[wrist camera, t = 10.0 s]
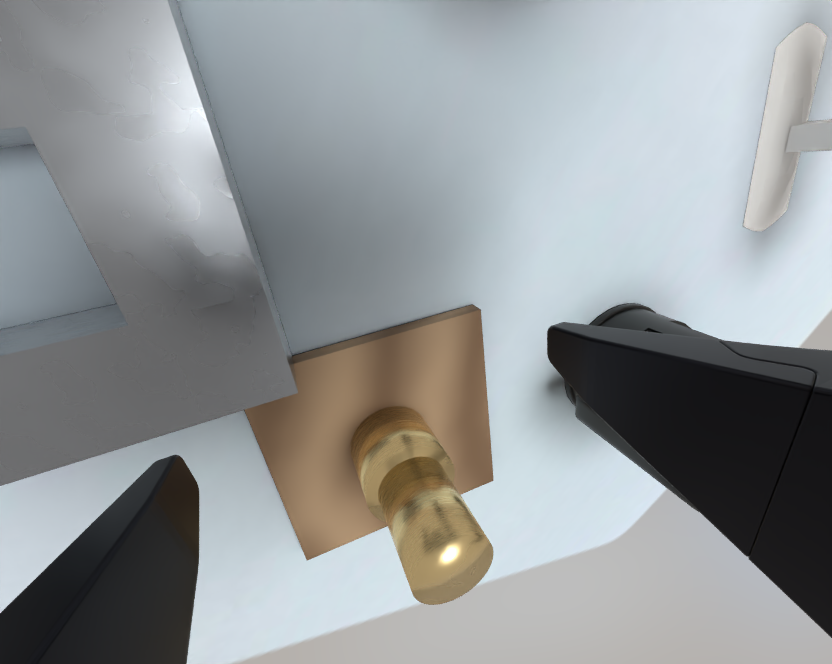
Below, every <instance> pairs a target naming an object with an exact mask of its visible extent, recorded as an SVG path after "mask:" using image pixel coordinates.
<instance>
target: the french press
mask: <svg viewBox="0 0 832 664" xmlns="http://www.w3.org/2000/svg"><path fill="white" fill-rule="evenodd" d="M590 325H593V326H602V327H610V328H619V329H628V330H636V331H645V332H646V331H648V332H654V333H662V334H671V335H680V336H688V337H697V338H706V339H714V340H718V341H720V340H721V339H718V338H715V337H712V336H710V335H707V334H704V333H701V332H698V331H696V330H693V329H691V328H690V327H689V326H687V325H686V324H685V323H682V322H679V321H676V320H674V319H671V318H668V317H665V316H662V315H659V314H657V313H656V312H654V311H653V310H652V309H650V308H649V307H646V306H643V305H640V304H624V305H619V306H617V307H614V308H612V309H610V310H608V311H606V312H605V313H603V314H602V315H600V316H599V317H598V318H597V319H595V320H594V321H593V322H592V323H591V324H590ZM565 388H566V391H567V395H568V397H569V399H570V400H571V402H572V403H573V404H574V405H575V406H576V412H575V414H576V417H577V418H578V419H579V420H580V421H581V422H582V423H584V424H585V425H586V426H588V427H589V428H590V429H592V430H593V431H594V432H595V433H597V434H598V435H599V436H601V437H602V438H603V439H604V440H606V441H607V442H608V443H610V444H611V445H612V446H613V447H615V448H616V449H617V450H619V451H620V452H621V453H623V454H624V455H625V456H626V457H628V458H629V459H630V460H632V461H633V462H634V463H635V464H637V465H638V466H639V467H641V468H642V469H643V470H644V471H646V472H647V473H648V474H650V475H651V476H652V477H654V478H655V479H656V480H657V481H659V482H660V483H661V484H663V485H664V486H665V487H666V488H668V489H669V490H670V491H672V492H673V493H674V494H676V495H677V496H678V497H679V498H681V499H682V500H683V501H684V502H686V503H687V504H688V505H690V506H691V507H692V508H694V509H695V510H697V509H696V508H695V507H694V506H693V505H692V504H691V503H690V502H689V501H688V500H687V499H686V498H685V497H683V496H682V495H681V494H680V493H679V492H678V491H677V490H676V489H675V488H674V487H673V486H672V485H671V484H670V483H669V482H668V481H667V480H666V479H665V478H663V477H662V476H661V475H660V474H659V473H658V472H657V471H656V470H655V469H654V468H653V467H652V466H651V465H650V464H649V463H648V462H647V461H646V460H645V459H644V458H642V457H641V456H640V455H639V454H638V453H637V452H636V451H635V450H634V449H633V448H632V447H631V446H630V445H629V444H628V443H627V442H626V441H625V440H624V439H622V438H621V437H620V436H619V435H618V434H617V433H616V432H615V431H614V430H613V429H612V428H611V427H610V426H609V425H608V424H607V423H606V422H605V421H604V420H603V419H601V418H600V417H599V416H598V415H597V414H596V413H595V412H594V411H593V410H592V409H591V408H590V407H589V406H588V405H587V404H586V403H585V402H584V401H583V400H582V398H581V397H580V396H579V395H578V394H577V393H576V392H575V390H574V389H573V388H572V387H571V386H570V385H569V383H568V382H567V381H566V380H565ZM697 511H698V510H697ZM698 512H699V511H698Z"/></svg>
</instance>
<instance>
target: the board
mask: <svg viewBox="0 0 832 664" xmlns="http://www.w3.org/2000/svg"><path fill="white" fill-rule="evenodd" d="M292 358H293V364H294V370H295V376H296V382H297V389H298V393H296V394H293V395H290V396H287V397H284V398H280V399H277V400H274V401H271V402H268V403H264V404H261V405H258V406H255V407H252V408H248V409H245V413H246V415H247V418H248V420H249V422H250V425H251V427H252V430H253V432H254V434H255V437H256V439H257V442H258V444H259V446H260V449H261V451H262V454H263V456H264V458H265V461H266V463H267V466H268V468H269V470H270V473H271V475H272V478H273V480H274V482H275V485H276V487H277V490H278V492H279V494H280V497H281V499H282V502H283V504H284V506H285V509H286V511H287V514H288V516H289V518H290V521H291V523H292V526H293V528H294V530H295V533H296V535H297V538H298V540H299V542H300V545H301V547H302V550H303V552H304V554H305V557H306V559H307V560H309V559H312V558H314V557H316V556H319V555H321V554H323V553H326V552H328V551H330V550H333V549H335V548H337V547H340V546H342V545H344V544H347V543H349V542H351V541H354V540H356V539H358V538H361V537H363V536H365V535H368V534H370V533H372V532H375V531H377V530H379V529H382V528H384V527H386V526H388V525H387V522H384V521H381V520H379V519H378V518H376V517H375V516H374V515H373V514H372V513H371V511H370V510H369V508H368V505H367V502H366V499H365V496H364V493H363V490H362V487H361V484H360V481H359V478H358V474H357V471H356V468H355V465H354V462H353V459H352V456H351V450H350V446H351V441H352V437H353V435H354V433H355V431H356V429H357V428H358V426H359V425H360V424H361V423H362V422H363V421H364V420H365V419H366V418H367V417H368V416H370V415H371V414H373V413H375V412H377V411H379V410H381V409H384V408H387V407H393V406H403V407H408V408H411V409H413V410H415V411H417V412H418V413H419V414H420V415H421V416H422V417H423V419H424V420H425V422H426V423H427V425H428V426H429V428H430V429H431V430H432V432H433V433H434V435H435V436H436V438H437V439H438V441H439V442H440V444H441V445H442V447H443V448H444V450H445V451H446V453H447V454H448V456H449V457H450V459H451V460H452V462H453V465H454V470H455V475H454V481H453V484H454V486H455V487H456V489H457V491H458V492H459V494H460V495H461V494H463V493H465V492H468V491H470V490H472V489H475V488H477V487H479V486H482V485H484V484H486V483H489V482H491V481H493V468H492V454H491V441H490V428H489V414H488V401H487V388H486V374H485V361H484V348H483V334H482V321H481V309H479V308H477V307H476V306H474V305H469V306H466V307H462V308H459V309H455V310H452V311H448V312H445V313H441V314H438V315H434V316H431V317H427V318H424V319H420V320H417V321H413V322H410V323H406V324H403V325H399V326H396V327H392V328H389V329H385V330H382V331H378V332H375V333H371V334H368V335H364V336H361V337H357V338H354V339H350V340H347V341H343V342H340V343H336V344H333V345H329V346H326V347H322V348H319V349H315V350H312V351H308V352H305V353H301V354H298V355H294V356H292Z"/></svg>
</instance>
